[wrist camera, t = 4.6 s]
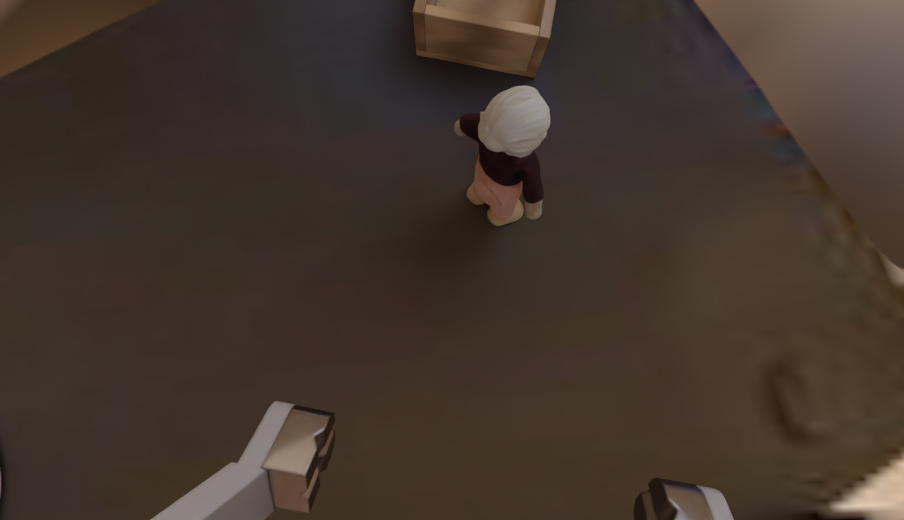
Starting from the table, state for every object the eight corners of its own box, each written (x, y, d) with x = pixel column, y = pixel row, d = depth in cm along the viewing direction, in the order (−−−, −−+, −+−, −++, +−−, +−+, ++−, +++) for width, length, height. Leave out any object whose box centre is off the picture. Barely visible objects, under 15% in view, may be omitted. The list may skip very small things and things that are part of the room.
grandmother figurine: (545, 207, 31) (616, 123, 19) (514, 246, 31) (566, 186, 18) (465, 145, 32) (482, 25, 19) (434, 182, 31) (430, 83, 19)
